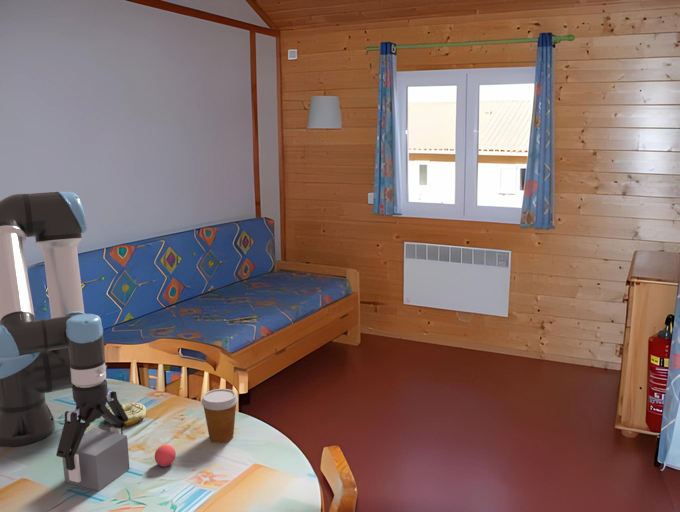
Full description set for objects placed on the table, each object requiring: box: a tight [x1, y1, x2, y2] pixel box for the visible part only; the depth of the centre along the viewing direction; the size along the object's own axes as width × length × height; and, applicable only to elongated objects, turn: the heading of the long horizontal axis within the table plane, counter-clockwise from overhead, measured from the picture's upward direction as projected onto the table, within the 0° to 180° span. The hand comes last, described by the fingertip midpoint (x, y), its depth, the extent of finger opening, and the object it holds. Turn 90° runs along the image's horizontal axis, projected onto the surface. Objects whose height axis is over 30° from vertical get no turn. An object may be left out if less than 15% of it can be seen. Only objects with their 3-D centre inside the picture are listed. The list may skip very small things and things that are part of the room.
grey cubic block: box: [62, 427, 131, 492], centre depth 147 cm, size 10×10×9 cm
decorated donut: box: [108, 401, 147, 427], centre depth 177 cm, size 10×11×4 cm
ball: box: [154, 444, 177, 467], centre depth 152 cm, size 5×5×5 cm
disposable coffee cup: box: [200, 388, 239, 444], centre depth 165 cm, size 10×10×12 cm
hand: (97, 466), depth 148 cm, fingers open, 13 cm apart
